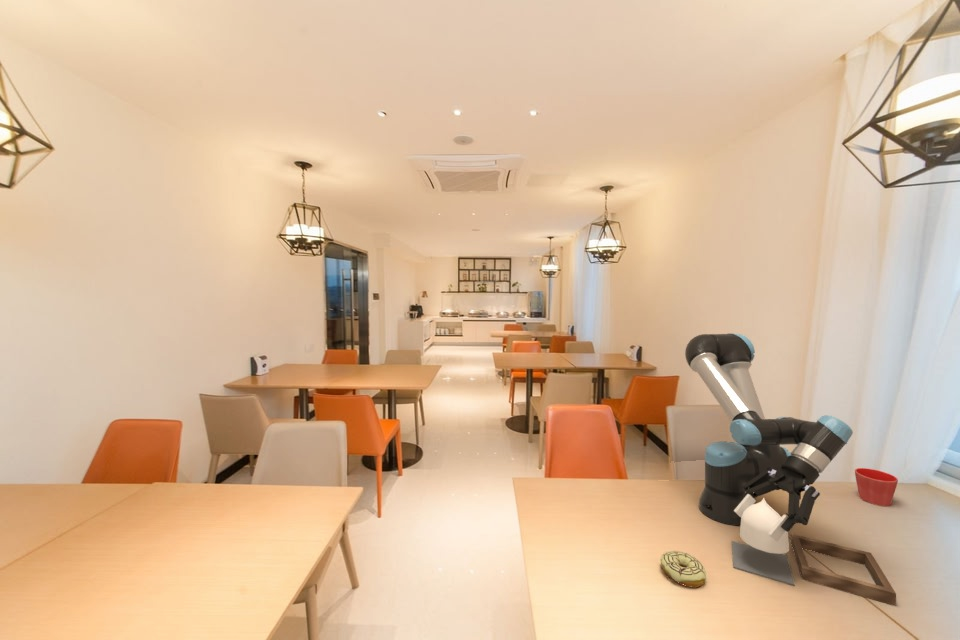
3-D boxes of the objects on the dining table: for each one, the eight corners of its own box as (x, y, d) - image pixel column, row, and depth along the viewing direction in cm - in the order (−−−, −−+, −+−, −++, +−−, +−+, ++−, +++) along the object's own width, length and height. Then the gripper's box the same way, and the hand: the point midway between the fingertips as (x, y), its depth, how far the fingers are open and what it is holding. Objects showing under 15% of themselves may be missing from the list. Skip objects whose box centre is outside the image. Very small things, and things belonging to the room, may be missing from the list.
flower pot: (907, 508, 130) (907, 481, 130) (874, 509, 130) (875, 481, 130) (875, 493, 141) (876, 467, 140) (845, 493, 141) (846, 468, 140)
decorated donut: (675, 591, 95) (675, 577, 95) (653, 562, 106) (653, 549, 105) (715, 588, 96) (715, 573, 95) (688, 559, 106) (688, 546, 106)
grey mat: (733, 567, 103) (733, 566, 103) (731, 542, 114) (731, 540, 114) (795, 586, 96) (795, 584, 96) (786, 556, 107) (786, 555, 107)
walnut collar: (802, 579, 98) (802, 568, 98) (791, 543, 112) (791, 533, 112) (895, 605, 89) (896, 593, 89) (870, 563, 103) (870, 552, 103)
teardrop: (782, 534, 106) (782, 492, 106) (796, 558, 96) (796, 511, 96) (735, 525, 111) (735, 485, 110) (744, 547, 101) (744, 503, 100)
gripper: (859, 492, 94) (804, 561, 92) (775, 457, 116) (729, 511, 115) (841, 473, 93) (785, 542, 91) (760, 441, 115) (713, 496, 114)
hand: (754, 525), depth 103 cm, fingers closed on teardrop, 10 cm apart
